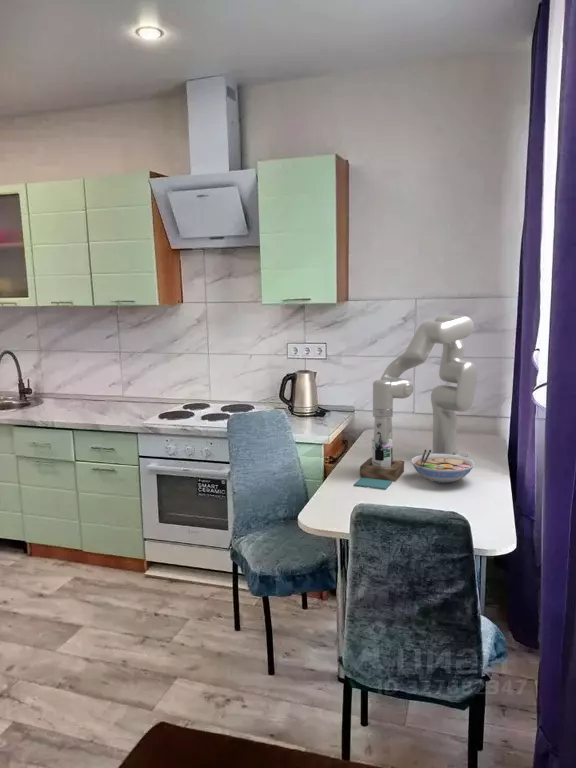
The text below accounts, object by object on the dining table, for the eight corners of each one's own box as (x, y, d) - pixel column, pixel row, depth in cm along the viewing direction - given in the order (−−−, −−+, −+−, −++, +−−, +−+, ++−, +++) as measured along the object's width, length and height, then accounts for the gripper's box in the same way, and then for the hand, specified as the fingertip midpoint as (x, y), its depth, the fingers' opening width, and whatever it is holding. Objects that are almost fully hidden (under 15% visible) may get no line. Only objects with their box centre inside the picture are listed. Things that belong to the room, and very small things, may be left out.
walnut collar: (403, 471, 235) (404, 460, 234) (395, 481, 223) (395, 470, 222) (370, 468, 240) (370, 457, 240) (360, 477, 228) (360, 466, 228)
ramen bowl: (472, 494, 208) (472, 471, 206) (405, 487, 216) (405, 465, 214) (476, 473, 231) (476, 453, 230) (415, 468, 239) (416, 448, 238)
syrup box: (380, 477, 228) (381, 440, 225) (371, 473, 233) (371, 437, 231) (393, 475, 230) (393, 438, 228) (383, 471, 235) (383, 435, 233)
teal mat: (392, 482, 222) (392, 480, 222) (385, 489, 214) (385, 488, 214) (361, 478, 227) (361, 477, 227) (353, 485, 219) (353, 484, 219)
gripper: (386, 417, 219) (385, 464, 221) (398, 409, 234) (397, 452, 237) (366, 416, 222) (366, 462, 224) (379, 407, 237) (379, 451, 240)
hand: (382, 457), depth 230 cm, fingers closed on syrup box, 7 cm apart
